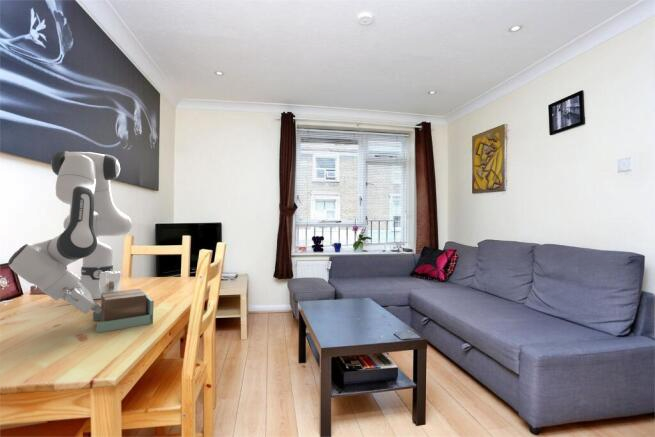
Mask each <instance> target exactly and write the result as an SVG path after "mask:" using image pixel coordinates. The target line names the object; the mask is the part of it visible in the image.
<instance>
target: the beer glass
mask: <svg viewBox="0 0 655 437" xmlns="http://www.w3.org/2000/svg"><path fill="white" fill-rule="evenodd" d="M120 287H121V271H118V270H113V271H106V272H101V273H100V280H99V289H100V295H101V293H106V292H116V291H120V289H121V288H120ZM99 306H100V307H101V305H99Z"/></svg>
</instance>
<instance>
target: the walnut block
mask: <svg viewBox="0 0 655 437" xmlns="http://www.w3.org/2000/svg"><path fill="white" fill-rule="evenodd" d="M144 292H145V291H142V289H141V288H140V289H139V288H137V289H126V290H119V291H116V292H106V293H101V298H100V306H101V308H102V311H101V317H100V320H99V321H100V322H105V321H111V320H117V319H124V318H130V317H137V316H143V315H146V294H147V293H146V292H145V293H146V294H145V293H144Z"/></svg>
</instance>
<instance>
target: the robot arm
mask: <svg viewBox="0 0 655 437" xmlns="http://www.w3.org/2000/svg"><path fill="white" fill-rule="evenodd" d="M50 167H51V169H52V172H53V173H54V174H55V175H56V176H57V178H56V180H55V195H56V198H58V200H60V201H61V202H62V203H64V204H67V205H70V206H69V214H68V215H66V217H65V218H64V221H63V232H61V233H60V234H59V235H57V236H54V237H53V238H51V239H48V240H43V241H41V242H37V243H36V242H35V243H26V244H24V245H22V246H21V247H20V248H19V249H18V250H16V251H15V252H14V253H13V254H12V255H11V257H10V258H9V259H8V262H7V263H8V267H9V268H10V269H11V270H12V271H13V272H14V273H15V274H17V275H18V276H19V277H20V278H22V279H23V280H25V281H26V282H27V283H30V284H33V285H35V286H37V288H38V289H39V290H40V291H41V292H42V293H44V294H45V295H47V296H49V297H50V298H51V299H53V300H55V301H58V300H60V299H62V300H64V301H67V302H68V303H69V304H70V305H72V306H73V307H75V309H77V310H79V311H80V312H81V313H83V314H87V313H88V312H89V311H92V312H96V313H97V314H99V313H100V312H101V311H102V308H101V307H100V306H101V305H99V304H97V303H96V301H94V300H99V299H100V300H101V295H100V289H99V280H100V273H101V272H106V271H114V265H113V249H112V247H110V246H109V245H107V244H106V243H102V242H101V241H100V240H99V238H98V237H118V236H125V235H127V234H129V232H130V231H131V229H132V220H131V218H130V217H129V216H128V215H126V214H125V213H123V212H122V211H121V210H119V209H118V208H117V206H116V205H115V204H114V202H113V196H112V189H111V181H114V180H115V179H117V178H118V177H119V175H120V172H121V165H120V162H119V159H118V158H116V157H115V156H113V155H110V154H102V153H97V152H91V151H86V152H85V151H84V152H83V151H68V150H65V151H64V150H62V151H57V152H55V153H54V154H53V155H52V157H51V161H50ZM80 259H82V266H81V269H80V275H81V276H78V275H77V274H76V273H74V272H73V271H72V270H70V269H69V268H68V265H70V264H72V263H75V262H76V261H78V260H80Z"/></svg>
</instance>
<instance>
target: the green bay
mask: <svg viewBox="0 0 655 437" xmlns="http://www.w3.org/2000/svg"><path fill="white" fill-rule="evenodd" d="M143 292H144V293H145V294H146V315H143V316H137V317H130V318H124V319H117V320H111V321H105V322H101V321H100V317H101V312H100V313H99V314H97V313H96V312H94V311H92V321H100V322H96V333H97V334H98V333H104V332H111V331H115V330H121V329H126V328H133V327H138V326H144V325H145V326H146V325H150V324H151V325H152V324H153V323H154V299H152V298H151V297H150V295H148V294H147V293H146V292H145V291H143Z"/></svg>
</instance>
